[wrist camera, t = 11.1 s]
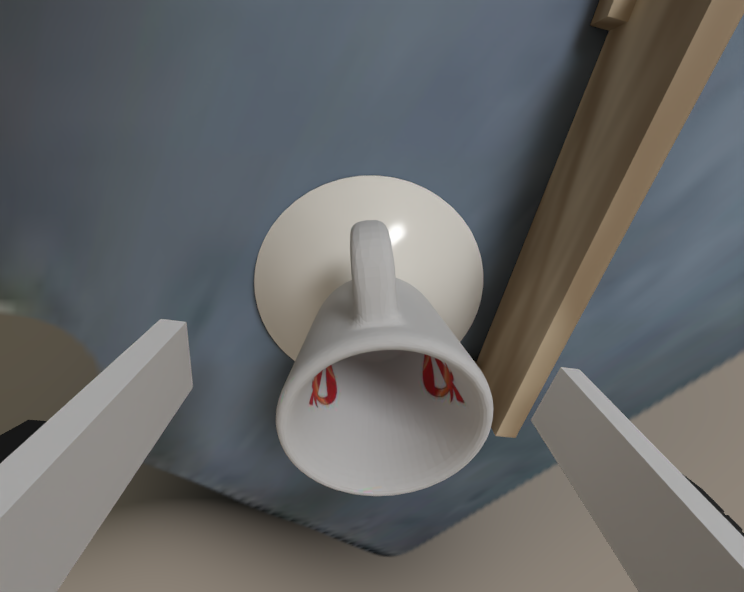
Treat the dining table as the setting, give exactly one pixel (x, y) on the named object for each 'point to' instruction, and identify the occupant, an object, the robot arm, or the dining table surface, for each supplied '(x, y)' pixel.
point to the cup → (381, 385)
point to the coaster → (332, 253)
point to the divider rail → (599, 183)
